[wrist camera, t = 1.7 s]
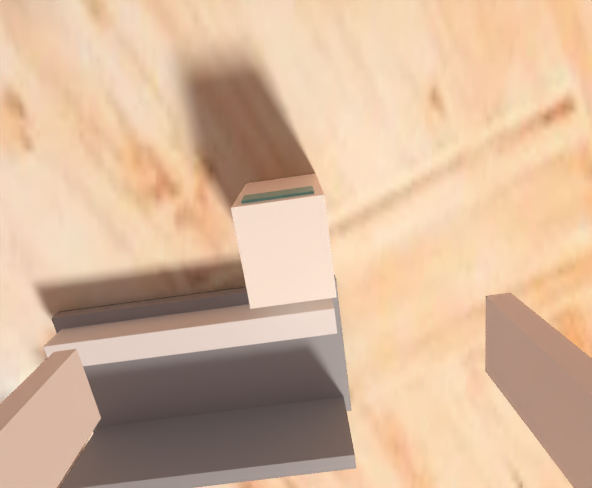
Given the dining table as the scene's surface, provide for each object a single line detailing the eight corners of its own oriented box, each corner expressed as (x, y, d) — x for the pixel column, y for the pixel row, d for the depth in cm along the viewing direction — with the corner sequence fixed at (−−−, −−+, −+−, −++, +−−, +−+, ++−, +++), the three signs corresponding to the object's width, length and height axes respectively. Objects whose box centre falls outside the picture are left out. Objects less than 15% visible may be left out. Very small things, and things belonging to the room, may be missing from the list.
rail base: (58, 312, 32) (-3, 364, 25) (334, 275, 31) (346, 319, 24) (102, 432, 35) (58, 506, 29) (349, 402, 35) (363, 470, 28)
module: (246, 181, 29) (230, 205, 21) (315, 171, 29) (324, 191, 21) (260, 260, 31) (250, 308, 23) (325, 251, 31) (336, 297, 23)
